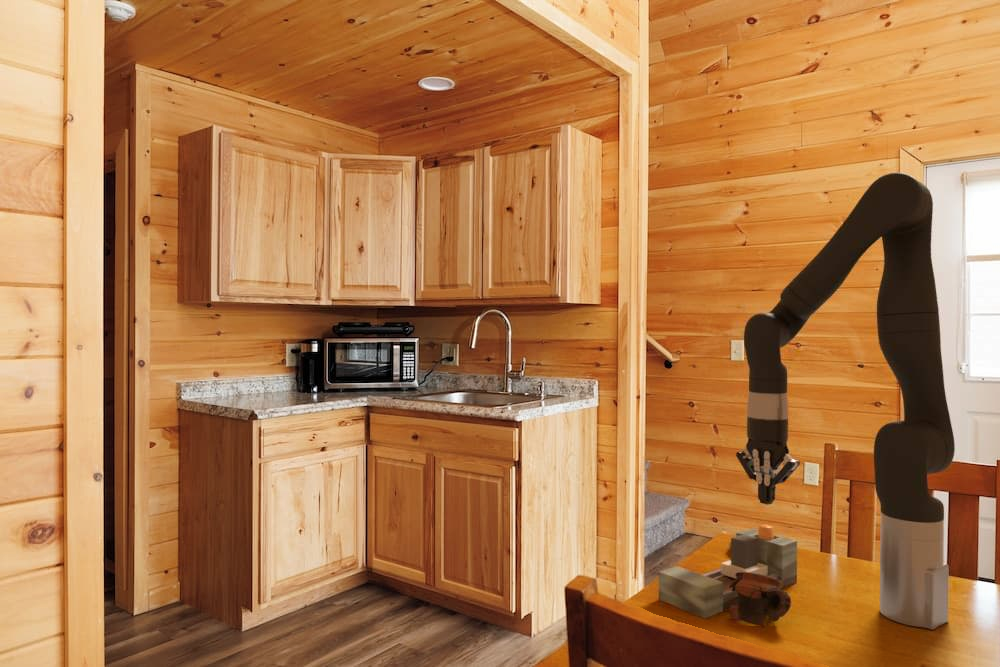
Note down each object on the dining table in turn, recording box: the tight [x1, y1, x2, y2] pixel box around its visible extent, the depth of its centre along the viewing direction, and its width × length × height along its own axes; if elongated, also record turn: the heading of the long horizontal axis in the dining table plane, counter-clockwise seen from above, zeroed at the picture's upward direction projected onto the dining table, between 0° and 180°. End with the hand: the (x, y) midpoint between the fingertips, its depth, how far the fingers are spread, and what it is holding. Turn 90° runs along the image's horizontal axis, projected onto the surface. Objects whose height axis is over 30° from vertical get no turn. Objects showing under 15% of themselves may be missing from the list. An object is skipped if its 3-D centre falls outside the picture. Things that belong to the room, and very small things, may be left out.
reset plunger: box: [758, 524, 775, 541], centre depth 134 cm, size 3×3×6 cm
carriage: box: [720, 534, 768, 579], centre depth 130 cm, size 6×6×7 cm
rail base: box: [658, 528, 798, 619], centre depth 128 cm, size 10×28×8 cm, turn 126°
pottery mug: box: [729, 572, 792, 628], centre depth 116 cm, size 12×10×8 cm
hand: (766, 503), depth 134 cm, fingers closed
